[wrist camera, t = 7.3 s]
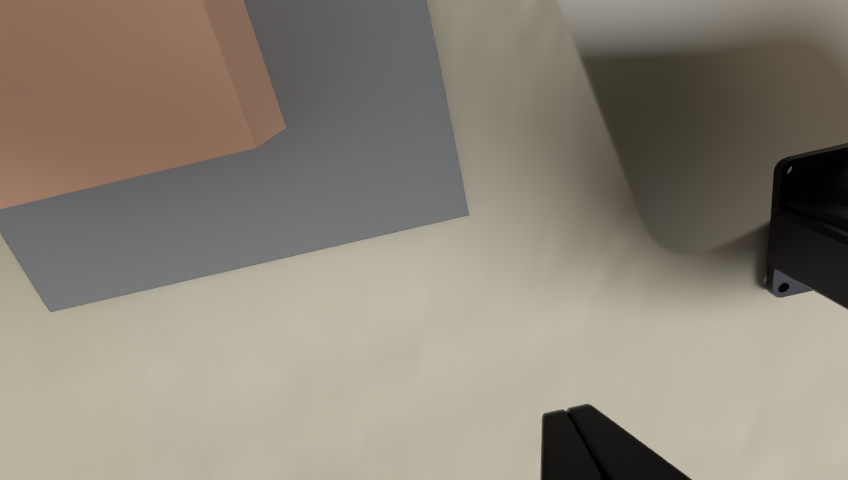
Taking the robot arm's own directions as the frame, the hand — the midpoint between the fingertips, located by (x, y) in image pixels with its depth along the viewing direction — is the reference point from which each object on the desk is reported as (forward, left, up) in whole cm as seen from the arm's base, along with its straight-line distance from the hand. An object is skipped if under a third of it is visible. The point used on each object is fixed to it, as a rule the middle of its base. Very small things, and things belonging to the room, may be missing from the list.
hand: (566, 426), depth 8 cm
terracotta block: (+6, -8, -10) cm, 14 cm away
